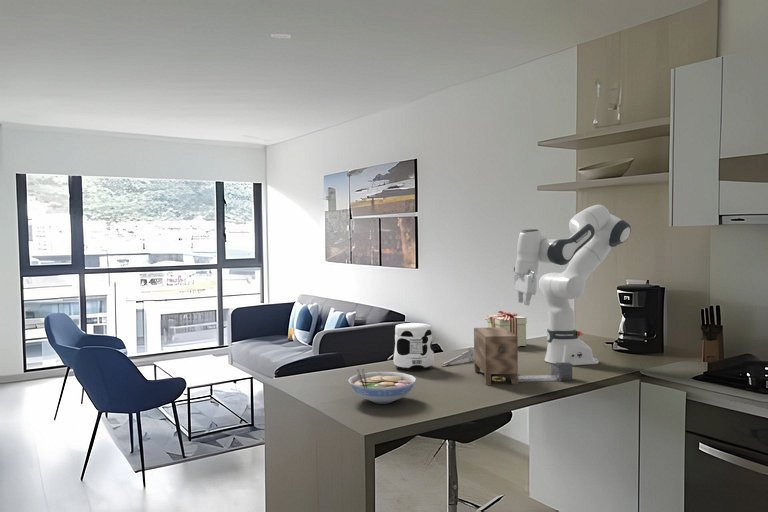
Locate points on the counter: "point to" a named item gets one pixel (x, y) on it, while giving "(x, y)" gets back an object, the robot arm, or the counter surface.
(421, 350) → the milk container
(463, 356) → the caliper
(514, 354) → the cabinet
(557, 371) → the scraper
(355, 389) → the ramen bowl
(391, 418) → the counter surface
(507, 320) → the gift box
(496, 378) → the token
